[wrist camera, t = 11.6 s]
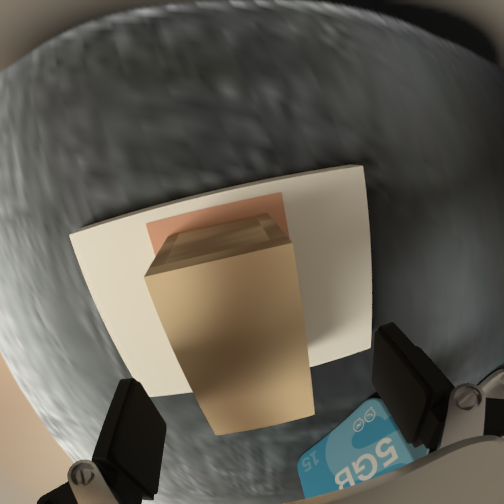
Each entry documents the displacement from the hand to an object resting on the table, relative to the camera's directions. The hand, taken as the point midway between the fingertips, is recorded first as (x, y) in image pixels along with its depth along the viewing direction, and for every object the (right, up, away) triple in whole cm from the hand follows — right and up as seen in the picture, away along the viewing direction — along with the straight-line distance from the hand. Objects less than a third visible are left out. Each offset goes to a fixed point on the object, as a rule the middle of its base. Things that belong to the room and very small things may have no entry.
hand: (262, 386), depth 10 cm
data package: (+9, -13, +14) cm, 21 cm away
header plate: (-1, +3, +7) cm, 7 cm away
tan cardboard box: (-1, +2, +5) cm, 6 cm away
